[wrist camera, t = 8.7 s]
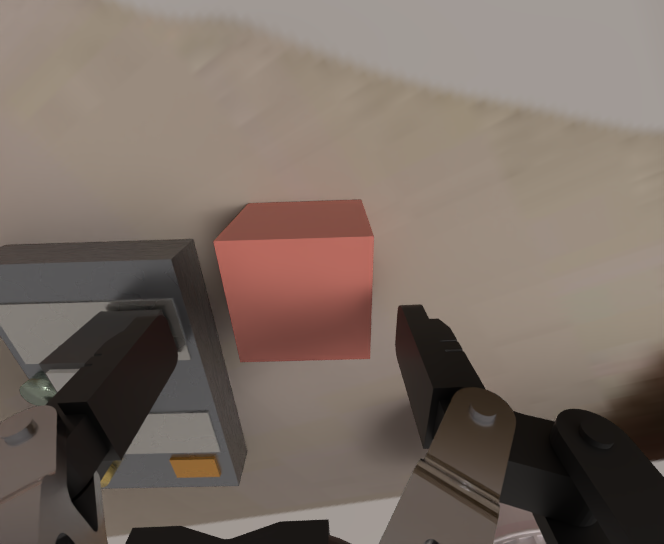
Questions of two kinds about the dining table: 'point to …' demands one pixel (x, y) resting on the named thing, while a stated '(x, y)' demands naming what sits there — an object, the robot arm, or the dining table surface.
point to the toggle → (87, 344)
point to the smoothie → (517, 527)
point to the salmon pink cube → (299, 280)
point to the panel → (128, 295)
